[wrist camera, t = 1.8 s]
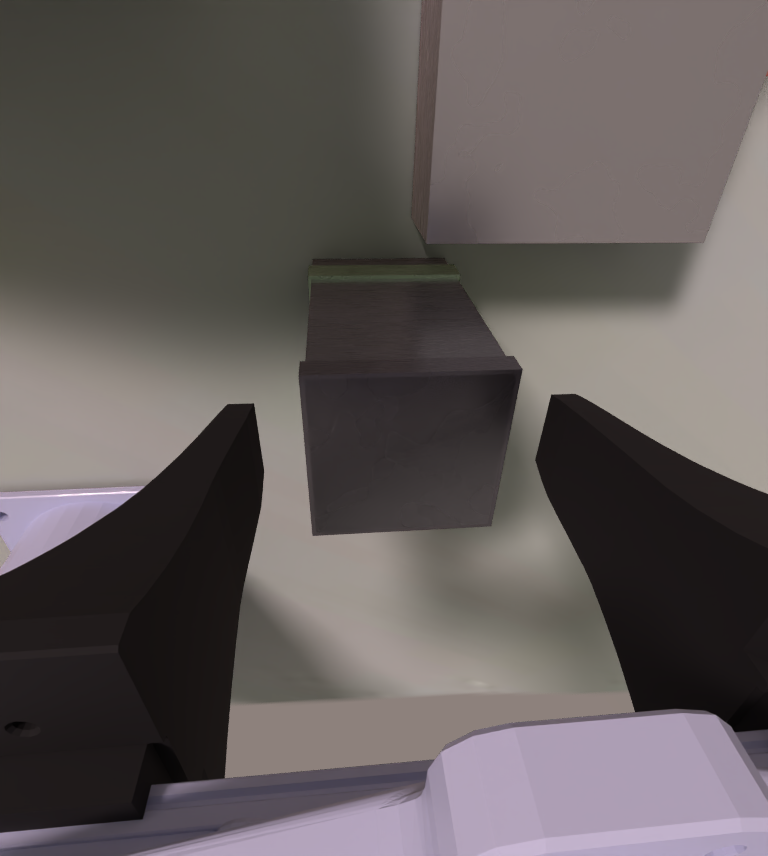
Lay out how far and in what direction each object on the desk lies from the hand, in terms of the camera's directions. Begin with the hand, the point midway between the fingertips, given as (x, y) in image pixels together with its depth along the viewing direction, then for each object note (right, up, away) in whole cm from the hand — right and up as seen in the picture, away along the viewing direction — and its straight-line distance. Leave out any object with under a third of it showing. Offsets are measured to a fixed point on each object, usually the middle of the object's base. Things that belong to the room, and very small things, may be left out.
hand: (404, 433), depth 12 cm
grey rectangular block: (-1, +4, +6) cm, 7 cm away
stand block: (+4, +11, +2) cm, 12 cm away
